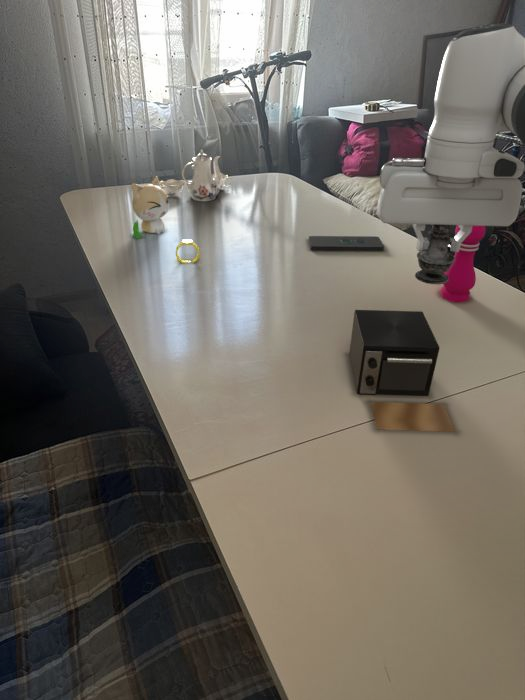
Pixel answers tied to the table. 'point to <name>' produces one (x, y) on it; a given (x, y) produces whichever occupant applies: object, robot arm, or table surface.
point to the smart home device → (345, 243)
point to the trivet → (411, 416)
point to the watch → (187, 242)
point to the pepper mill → (463, 267)
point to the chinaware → (198, 180)
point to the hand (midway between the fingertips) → (437, 250)
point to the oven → (392, 353)
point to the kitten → (149, 207)
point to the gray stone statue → (436, 256)
